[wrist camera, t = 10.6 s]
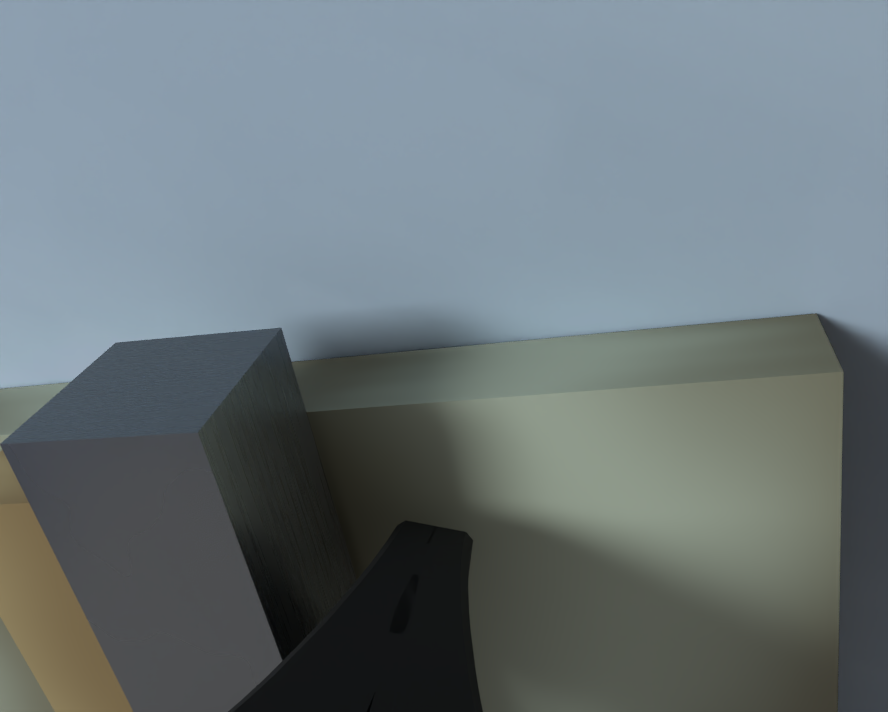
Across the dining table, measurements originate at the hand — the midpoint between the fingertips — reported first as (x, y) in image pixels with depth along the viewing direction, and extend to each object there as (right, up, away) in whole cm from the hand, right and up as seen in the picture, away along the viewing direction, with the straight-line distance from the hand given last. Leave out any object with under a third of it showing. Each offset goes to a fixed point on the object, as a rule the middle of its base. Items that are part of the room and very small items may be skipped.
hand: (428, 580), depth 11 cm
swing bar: (-2, -3, +2) cm, 4 cm away
